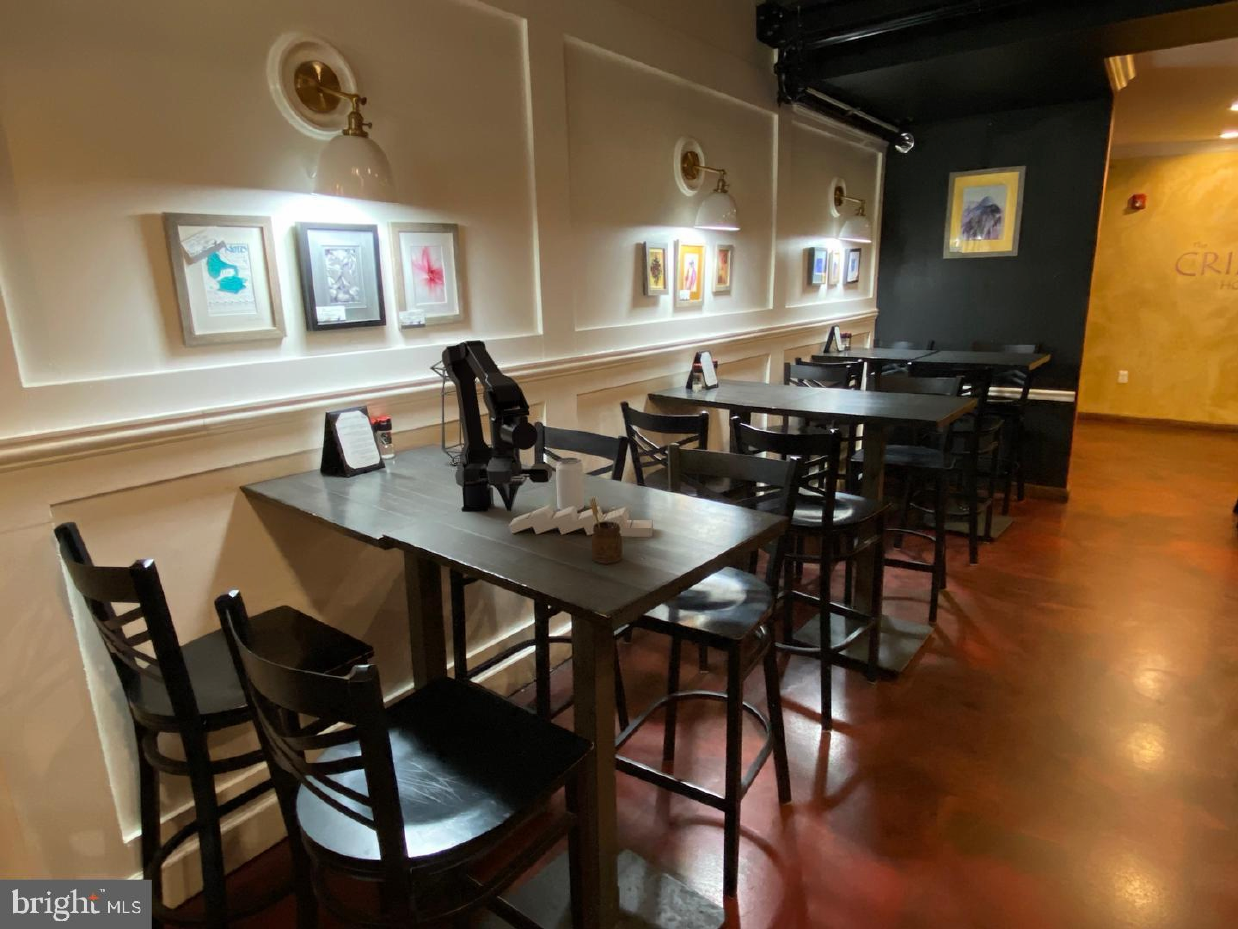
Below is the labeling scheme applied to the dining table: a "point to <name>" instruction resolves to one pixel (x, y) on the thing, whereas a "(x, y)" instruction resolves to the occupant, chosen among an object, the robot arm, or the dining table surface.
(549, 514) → the domino
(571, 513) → the domino
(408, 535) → the dining table surface
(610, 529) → the utensil holder
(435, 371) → the geometric lantern
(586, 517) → the domino
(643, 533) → the domino
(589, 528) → the domino
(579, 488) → the can
